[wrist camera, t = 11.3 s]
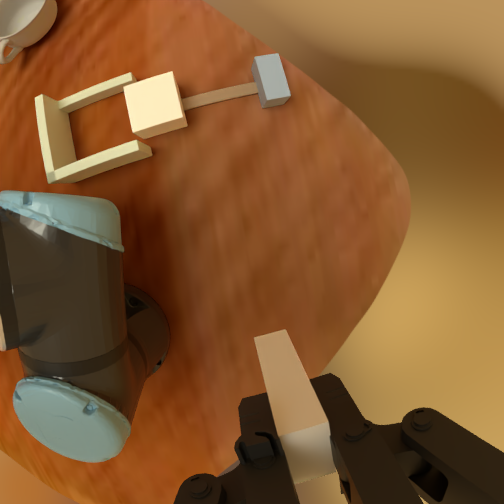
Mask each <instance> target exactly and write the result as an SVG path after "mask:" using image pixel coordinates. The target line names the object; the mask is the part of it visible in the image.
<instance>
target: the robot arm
mask: <svg viewBox="0 0 504 504" xmlns="http://www.w3.org/2000/svg"><path fill="white" fill-rule="evenodd" d="M122 252H124V246H123V245H122V241H121V224H120V214H119V211H118V209H117V207H116V206H115V205H114V204H113V203H112V202H111V201H109V200H107V199H103V198H96V197H88V196H78V195H68V194H56V193H42V192H25V191H12V190H4V191H1V192H0V350H1V351H6V350H10V349H14V348H18V352H19V356H20V360H21V363H22V367H23V371H24V378H23V379H22V380H20V381H19V382H18V383H17V384H16V390H15V392H14V394H13V405H14V409H15V412H16V414H17V416H18V418H19V420H20V421H21V423H22V424H23V426H24V427H25V428H26V429H27V430H28V432H29V433H30V434H31V435H32V436H33V437H35V438H36V439H37V440H38V441H39V442H41V443H42V444H44V445H45V446H47V447H48V448H50V449H51V450H53V451H55V452H57V453H59V454H61V455H63V456H66V457H68V458H71V459H75V460H79V461H84V462H103V461H106V460H109V459H110V458H112V457H115V456H117V455H118V454H119V453H120V452H121V450H122V448H123V446H124V444H125V442H126V440H127V438H128V437H129V435H130V433H131V424H132V421H133V418H134V414H135V411H136V408H137V404H138V401H139V398H140V395H141V391H142V388H143V385H144V382H145V380H146V379H147V378H149V377H150V376H151V375H152V374H153V373H155V372H156V371H157V370H158V369H159V368H160V366H161V365H162V363H163V362H164V360H165V358H166V355H167V351H168V348H169V343H170V330H169V325H168V322H167V319H166V317H165V315H164V313H163V311H162V310H161V308H160V307H159V305H158V304H157V303H156V302H155V301H154V300H153V299H152V298H151V297H150V296H149V295H147V294H146V293H145V292H143V291H141V290H140V289H138V288H136V287H133V286H131V285H128V284H124V279H123V257H122ZM254 340H255V345H256V349H257V353H258V357H259V361H260V365H261V369H262V373H263V378H264V382H265V386H266V390H267V392H266V393H262V394H259V395H254V396H250V397H246V398H243V399H242V401H241V403H240V405H239V407H238V409H239V417H240V425H241V426H240V427H241V436H240V437H239V438H238V440H237V441H236V442H235V447H234V449H235V452H236V454H237V456H238V458H239V460H240V464H239V465H238V466H237V467H236V468H235V469H234V470H232V471H231V472H228V473H226V474H224V475H222V476H219V477H215V476H214V475H211V474H206V473H204V474H196V475H194V476H191V477H189V478H188V479H186V480H185V481H184V482H183V483H182V485H181V486H180V488H179V490H178V493H177V496H176V498H175V501H174V504H300V503H299V499H298V496H297V493H296V489H295V486H294V484H297V483H301V482H305V481H308V480H312V479H315V478H318V477H322V476H325V475H328V474H331V473H334V472H336V470H335V467H336V469H337V472H338V474H339V479H340V487H341V494H344V495H345V497H346V500H347V502H348V504H423V502H422V500H421V499H420V497H421V498H423V499H424V500H425V501H426V502H427V503H429V504H504V453H503V452H502V451H500V450H499V449H497V448H495V447H494V446H492V445H490V444H489V443H487V442H485V441H484V440H482V439H481V438H479V437H477V436H476V435H474V434H473V433H471V432H470V431H468V430H466V429H465V428H463V427H462V426H460V425H458V424H457V423H455V422H453V421H452V420H450V419H449V418H447V417H446V416H444V415H443V414H441V413H439V412H438V411H436V410H434V409H431V408H418V409H414V410H412V411H410V412H409V413H407V414H406V415H405V416H404V418H403V420H402V422H401V423H396V424H390V425H376V424H373V423H372V422H370V421H368V420H366V419H365V418H364V417H363V416H362V414H361V412H360V411H359V409H358V408H357V406H356V404H355V403H354V401H353V399H352V398H351V396H350V394H349V393H348V391H347V390H346V388H345V387H344V385H343V383H342V381H341V380H340V378H338V377H337V376H335V375H333V374H331V373H329V374H325V375H322V376H319V377H316V378H313V379H310V380H309V378H308V376H307V374H306V372H305V370H304V368H303V366H302V363H301V361H300V359H299V357H298V355H297V353H296V350H295V348H294V346H293V344H292V342H291V340H290V338H289V335H288V333H287V331H286V329H284V330H280V331H277V332H273V333H269V334H266V335H262V336H258V337H254ZM419 496H420V497H419Z"/></svg>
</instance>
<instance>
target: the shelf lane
mask: <svg viewBox="0 0 504 504" xmlns="http://www.w3.org/2000/svg"><path fill="white" fill-rule="evenodd" d="M136 82H137V81H136V78H135V77H134V76H133V74H132V73H131V72H130V73H127V74H125V75H122V76H119V77H116V78H113V79H111V80H108V81H105V82H103V83H100V84H98V85H95V86H93V87H90V88H88V89H85V90H83V91H81V92H78V93H76V94H74V95H71V96H69V97H67V98H65V99H62V100H60V101H56V100H54V99H52V98H50V97H48V96H46V95H43V94H41V95H39V96H37V97H36V98H35V105H36V114H37V122H38V129H39V136H40V142H41V148H42V154H43V160H44V165H45V170H46V175H47V180H48V184H54V183H75V182H78V181H80V180H83V179H86V178H88V177H91V176H94V175H96V174H99V173H102V172H105V171H108V170H111V169H113V168H116V167H119V166H122V165H125V164H128V163H131V162H134V161H137V160H141V159H144V158H147V157H150V156H153V155H152V151H151V147H149V146H148V145H146V144H144V143H142V142H140V141H138V140H134V141H131V142H128V143H125V144H122V145H119V146H116V147H114V148H111V149H108V150H105V151H102V152H100V153H97V154H94V155H92V156H89V157H87V158H84V159H81V160H79V161H77V159H76V154H75V149H74V144H73V139H72V133H71V127H70V121H69V115H68V113H70V112H72V111H74V110H77V109H79V108H81V107H84V106H86V105H89V104H91V103H94V102H96V101H99V100H101V99H104V98H107V97H109V96H112V95H115V94H118V93H120V92H123V91H124V88H123V87H125V86H127V85H130V84H133V83H136Z"/></svg>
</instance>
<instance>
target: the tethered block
mask: <svg viewBox="0 0 504 504" xmlns="http://www.w3.org/2000/svg"><path fill="white" fill-rule="evenodd" d="M251 70H252V74H253V77H254V81H255V82H252V83H247V84H242V85H237V86H233V87H228V88H224V89H219V90H215V91H211V92H207V93H203V94H199V95H195V96H191V97H188V98H184V99H181V96H180V92H179V88H178V84H177V82H176V80H175V77H174V75H173V72H168V73H165V74H161V75H158V76H155V77H151V78H148V79H145V80H142V81H139V82H136V83H133V84H130V85H127V86H125V87H123V88H124V93H125V98H126V103H127V108H128V113H129V117H130V122H131V127H132V131H133V133H134V134H136V135H138V136H139V137H141V138H143V139H147V138H150V137H153V136H157V135H160V134H163V133H166V132H170V131H173V130H176V129H180V128H183V127H187V126H188V125H187V121H186V117H185V113H184V111H186V110H190V109H193V108H197V107H201V106H205V105H209V104H213V103H217V102H221V101H225V100H230V99H234V98H239V97H243V96H248V95H253V94H258V95H259V99H260V102H261V106H262V108H267V107H272V106H277V105H283V104H284V103H285V102H286V101H287V100H288V99H289V98H290V96H291V94H290V91H289V87H288V84H287V80H286V77H285V74H284V70H283V67H282V64H281V60H280V57H279V54H278V53H276V54H269V55H263V56H257V57H255V58H254V61H253V64H252V68H251Z"/></svg>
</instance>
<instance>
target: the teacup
mask: <svg viewBox="0 0 504 504" xmlns="http://www.w3.org/2000/svg"><path fill="white" fill-rule="evenodd" d="M56 16H57V3H56V1H55V0H0V64H6V63H9V62H10V61H12V60H13V59H14V58H15V57H16V55H17V54H18V53H19V52H21V51H22V50H23V48H25V47H28V46H30V45H32V44H34V43H36V42H37V41H39V40H40V39H41V38H42V37H43V36H44V35H45V34H46V33H47V32H48V31H49V30H50V28H51V27H52V25H53V23H54V21H55V19H56ZM6 46H8V47H11V48H13V50H12V51H11V53H10V54H9V55H8V56H7V57H6V58H5V57H4V55H3V51H4V48H5V47H6Z"/></svg>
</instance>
